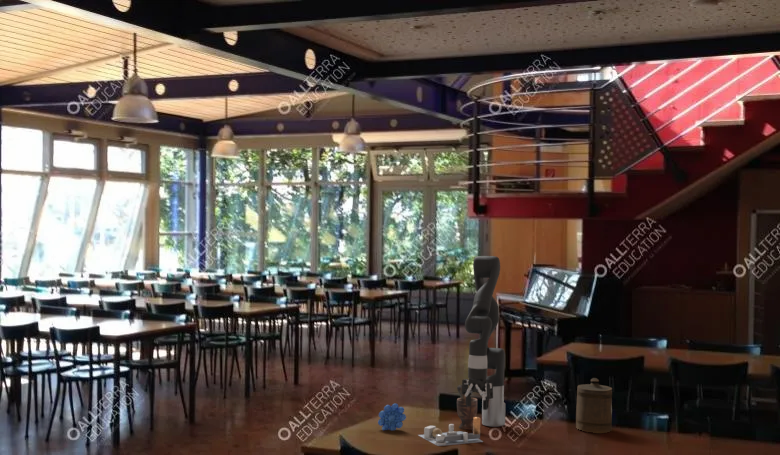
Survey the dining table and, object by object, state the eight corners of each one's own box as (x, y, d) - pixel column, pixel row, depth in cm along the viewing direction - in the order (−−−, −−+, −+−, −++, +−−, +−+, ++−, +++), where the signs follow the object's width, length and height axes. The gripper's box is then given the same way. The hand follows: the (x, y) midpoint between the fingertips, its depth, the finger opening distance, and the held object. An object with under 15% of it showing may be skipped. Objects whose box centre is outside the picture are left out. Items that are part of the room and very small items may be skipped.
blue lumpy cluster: (407, 430, 330) (407, 401, 330) (404, 434, 323) (405, 405, 323) (379, 429, 331) (380, 400, 332) (376, 432, 325) (377, 403, 325)
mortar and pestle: (475, 435, 324) (475, 386, 325) (454, 433, 326) (455, 385, 327) (477, 428, 336) (478, 381, 336) (457, 427, 337) (458, 380, 338)
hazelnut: (439, 436, 315) (439, 426, 315) (444, 439, 311) (444, 429, 312) (430, 437, 314) (430, 427, 314) (434, 440, 310) (435, 429, 310)
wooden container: (618, 431, 337) (619, 379, 337) (595, 435, 329) (596, 382, 329) (592, 424, 349) (592, 374, 350) (568, 428, 341) (569, 376, 341)
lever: (438, 443, 302) (438, 421, 303) (433, 440, 306) (433, 419, 307) (481, 439, 310) (482, 418, 310) (476, 436, 314) (476, 416, 314)
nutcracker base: (461, 434, 325) (461, 419, 326) (483, 444, 309) (483, 429, 309) (417, 437, 317) (417, 423, 318) (438, 449, 301) (438, 433, 301)
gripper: (497, 367, 309) (497, 409, 309) (470, 363, 320) (469, 404, 319) (485, 369, 304) (484, 411, 304) (457, 365, 314) (456, 406, 314)
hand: (476, 407), depth 311 cm, fingers open, 8 cm apart
